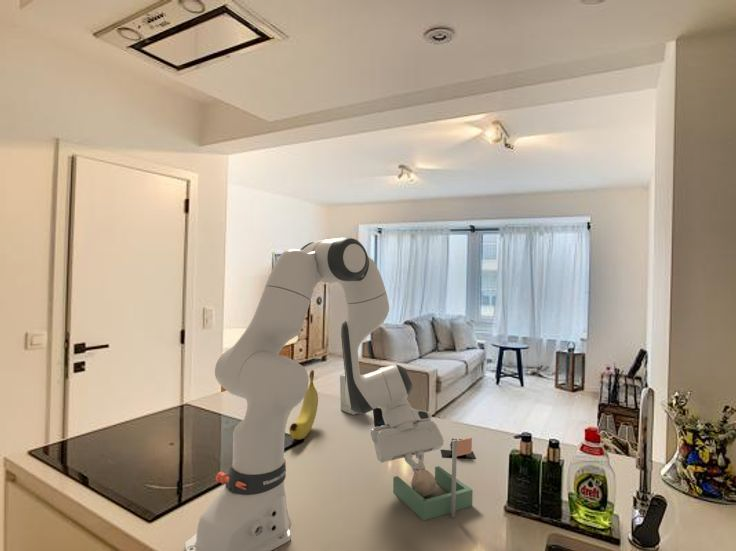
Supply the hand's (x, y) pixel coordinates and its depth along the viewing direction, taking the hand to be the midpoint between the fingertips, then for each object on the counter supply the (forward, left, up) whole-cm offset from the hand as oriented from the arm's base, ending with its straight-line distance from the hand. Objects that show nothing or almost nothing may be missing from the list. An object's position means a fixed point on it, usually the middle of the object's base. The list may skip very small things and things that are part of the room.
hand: (419, 470), depth 114 cm
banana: (+10, +49, -5) cm, 50 cm away
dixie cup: (+25, +26, -5) cm, 36 cm away
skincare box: (+39, +49, -5) cm, 63 cm away
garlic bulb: (-3, -2, -5) cm, 6 cm away
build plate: (+26, -1, -5) cm, 26 cm away
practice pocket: (-4, -6, -4) cm, 8 cm away
